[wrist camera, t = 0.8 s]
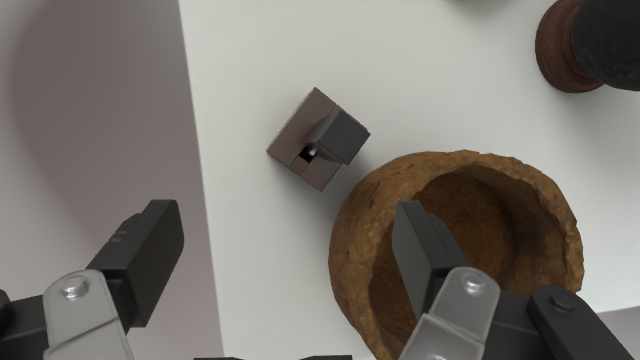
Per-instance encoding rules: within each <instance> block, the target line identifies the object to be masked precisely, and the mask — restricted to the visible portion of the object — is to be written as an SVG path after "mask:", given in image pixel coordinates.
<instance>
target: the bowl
mask: <svg viewBox="0 0 640 360" xmlns="http://www.w3.org/2000/svg"><path fill="white" fill-rule="evenodd" d="M398 201H420V202H421V204H422V205H423V207H424V209H425V211H426V212H427V214H435V215H436V216H437V217H439V218H440V219H441V220H442V221H444V222H445V223H446V225H447V227H448V228H449V230H450V231H451V234H452V235H453V236H454V238H455V239H456V242H457V243H458V244H459V246H460V248H461V249H462V251H463V252H464V254H465V256H466V257H467V259H468V260H469V262H470V264H471V265H472V267H473V268H475V269H478V270H481V271H483V272H485V273H486V274H488V275H489V276H491V277H492V278H493V279H494V280H495V281H496V282H497V284H498V285H499V288H500V289H502V290H505V291H509V292H514V293H518V294H523V295H527V296H531V294H532V291H533V290H534V288H535V287H537V286H539V285H554V286H558V287H561V288H564V289H566V290H569V291H571V292H572V293H574V294H576V292H578V291H580V290H581V286H582V280H583V277H584V266H583V262H584V259H583V245H582V241H581V236H580V233H579V231H578V229H577V227H576V224H577V220H576V218H575V216H574V214H573V212H572V210H571V209H570V207H569V205H568V203H567V201H566V199H565V197H564V196H563V194H562V192H561V190H560V189H559V187H558V186H557V184H556V183H555V182H554V181H553V180H552V179H551V178H549V177H548V176H546V175H545V174H543V173H542V172H541V171H539V170H538V169H536V168H534V167H532V166H530V165H528V164H523V163H522V162H521V161H520V160H518V159H516V158H514V157H504V156H498V155H495V154H492V153H489V154H479V152H474V151H469V150H465V149H464V150H460V151H455V152H449V153H446V152H429V151H426V152H419V153H413V154H409V155H405V156H401V157H398V158H396V159H394V160H392V161H390V162H388V163H387V164H385V165H383V166H381V167H380V168H378V169H376V170H374V171H373V172H371V173H370V174H368V175H367V176H366V177H365V178H364V179H363V180H362V181H361V182H360V183H359V184H358V185H357V186H356V187H355V188H354V190H353V191H352V192H351V194H350V195H349V196H348V198H347V199H346V200H345V202H344V203H343V205H342V207H341V209H340V212H339V214H338V217H337V219H336V222H335V224H334V227H333V229H332V234H331V240H330V248H329V259H328V266H329V272H330V279H331V286H332V289H333V293H334V297H335V300H336V301H337V303H338V305H339V307H340V309H341V311H342V312H343V314H344V315H345V317H346V318H347V320H348V321H349V323H350V324H351V325H352V326H353V327H354V328H355V329H356V330H357V331H358V333H359V334H360V335H361V337H362V339H363V340H364V342H365V344H366V345H367V347H368V348H369V349H370V351H371V352H372V353H373V355H374V356H375V358H376V359H377V360H398V359H399V357H400V355H401V353H402V351H403V349H404V347H405V346H406V344H407V342H408V340H409V338H410V336H411V335H412V333H413V331H414V329H415V327H416V325H417V323H418V322H417V319H416V316H415V313H414V310H413V307H412V304H411V301H410V298H409V296H408V293H407V290H406V287H405V284H404V281H403V278H402V275H401V272H400V270H399V267H398V264H397V261H396V258H395V255H394V252H393V248H392V232H393V226H394V219H395V213H396V207H397V203H398Z"/></svg>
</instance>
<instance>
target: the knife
mask: <svg viewBox="0 0 640 360" xmlns="http://www.w3.org/2000/svg"><path fill="white" fill-rule="evenodd" d="M369 136H370V133H369V132H368V131H366V130H365V129H364V128H363V127H361V126H360V125H359V124H358V123H357V122H355V121H354V120H353V119H352V118H350V117H349V116H348V115H347V114H345V113H344V112H343V111H342V110H340V111H338V112H335V113H333V114H331V115H329V116H326V117H324V118H322V119H320V120H319V121H318V122H317V123H316V125H315V126H314V127H313V129H312V130H311V131H310V133H309V134H308V135H307V137H306V138H305V139H304V141H303V142H302V143H303V144H304V145H306V146H305V147H304V149H303V150H302V151H301V154H306V155H312V156H314V154H315V153H316V154H317V155H319V156H320V157H321V158H323V159H324V160H327V161H331V162H336V163H340V164H345V165H348V164H349V163H350V162H351V160H352V159H353V158H354V156H355V155H356V154H357V152H358V151H359V150H360V148H361V147H362V146H363V144H364V143H365V142H366V140H367V139H368V137H369Z"/></svg>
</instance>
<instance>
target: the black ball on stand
mask: <svg viewBox="0 0 640 360" xmlns="http://www.w3.org/2000/svg"><path fill="white" fill-rule="evenodd" d="M535 52H536V57H537V62H538V65H539V67H540V70H541V72H542V73H543V75H544V77H545V78H546V79H547V80H548V81H549V82H550V84H552V85H553V86H554V87H556V88H557V89H559V90H561V91H564V92H568V93H583V92H588V91H592V90H595V89H597V88H598V87H600V86H602V85H603V84H607V85H609V86H611V87H614V88H618V89H624V90H631V91H640V0H558V1H557V2H555V3H554V4H553V5H552V6H551V7H550V8H549V9H548V10H547V12H546V13H545V14H544V16H543V18H542V20H541V21H540V24H539V27H538V30H537V34H536V40H535Z"/></svg>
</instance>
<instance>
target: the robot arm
mask: <svg viewBox="0 0 640 360" xmlns="http://www.w3.org/2000/svg"><path fill="white" fill-rule="evenodd" d="M183 246H184V233H183V228H182V223H181V218H180V213H179V208H178V204H177V202H176V201H175V200H151V201H150V203H149V204H148V206H147V207H146V208H145V209H144V211H143V212H142V213H137V214H135V215H133V216H132V217H130V218H129V219H127V220H126V221H124V222H123V223H122V224H121V225H120V227H119V228H118V229H117V230H116V231H115V234H113V235H112V236H111V238H110V239H109V242H107V243H106V244H105V245H104V246H103V247H102V249H101V250H100V251H99V252H98V254H97V255H96V256H95V257H94V259H93V260H92V261H91V262H90V263H89V265H88V266H87V267H86V268H85V270H80V271H75V272H72V273H70V274H67V275H65V276H63V277H61V278H59V279H58V280H56V281H55V282H53V283H52V284H51V285H50V286H49V287H48V288H47V289H46V291H45V292H44V294H43V295H39V296H34V297H30V298H25V299H21V300H16V301H12V302H11V301H10V299H9V298H8V296H7V294H6V292H5V291H3V290H1V289H0V360H135V359H134V357H133V354H132V351H131V348H130V346H129V343H128V340H127V337H126V335H127V333H128V331H129V329H130V328H131V327H146V325H147V323H148V321H149V319H150V317H151V315H152V313H153V311H154V309H155V306H156V304H157V303H158V300H159V298H160V296H161V294H162V292H163V290H164V288H165V286H166V284H167V282H168V280H169V278H170V276H171V274H172V272H173V270H174V267H175V265H176V263H177V261H178V259H179V257H180V255H181V253H182V251H183ZM392 248H393V252H394V255H395V258H396V261H397V264H398V267H399V270H400V272H401V275H402V278H403V281H404V284H405V287H406V290H407V293H408V296H409V298H410V301H411V304H412V307H413V310H414V313H415V316H416V319H417V322H418V323H417V325H416V327H415V329H414V331H413V333H412V335H411V336H410V338H409V340H408V342H407V344H406V346H405V347H404V349H403V351H402V353H401V355H400V357H399V359H398V360H634V359H633V357H632V356H631V355H630V354H629V353H628V351H627V350H626V349H625V348H624V347H623V345H622V344H621V343H620V342H619V341H618V340H617V338H616V337H615V336H614V335H613V334H612V333H611V331H610V330H609V329H608V328H607V327H606V325H605V324H604V323H603V322H602V321H601V320H600V319H599V317H598V316H597V315H596V314H595V312H594V311H593V310H592V309H591V308H590V307H589V305H588V304H587V303H586V302H585V301H584V300H583V299H581V298H580V297H579V296H577V295H576V294H574V293H572V292H571V291H569V290H566V289H564V288H561V287H558V286H554V285H539V286H537V287H535V288H534V290H533V291H532V294H531V296H527V295H523V294H518V293H514V292H509V291H505V290H502V289H500V288H499V285H498V284H497V282H496V281H495V280H494V279H493V278H492V277H491V276H489V275H488V274H486V273H485V272H483V271H481V270H478V269H475V268H473V267H472V265H471V264H470V262H469V260H468V259H467V257H466V256H465V254H464V252H463V251H462V249H461V248H460V246H459V244H458V243H457V242H456V239H455V238H454V236H453V235H452V234H451V231H450V230H449V228H448V227H447V225H446V223H445V222H444V221H442V220H441V219H440V218H439V217H437V216H436V215H435V214H427V212H426V211H425V209H424V207H423V205H422V204H421V202H420V201H398V203H397V207H396V213H395V219H394V226H393V232H392ZM194 360H243V359H238V358H234V357H224V358H194ZM300 360H352V355H332V356H311V357H308V358H304V359H300Z"/></svg>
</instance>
